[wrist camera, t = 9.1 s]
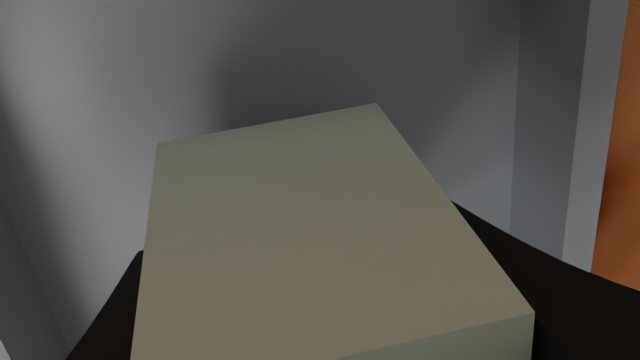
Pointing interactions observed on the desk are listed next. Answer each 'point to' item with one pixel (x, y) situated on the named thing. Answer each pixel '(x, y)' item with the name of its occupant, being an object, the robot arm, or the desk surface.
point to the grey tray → (280, 104)
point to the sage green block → (316, 252)
